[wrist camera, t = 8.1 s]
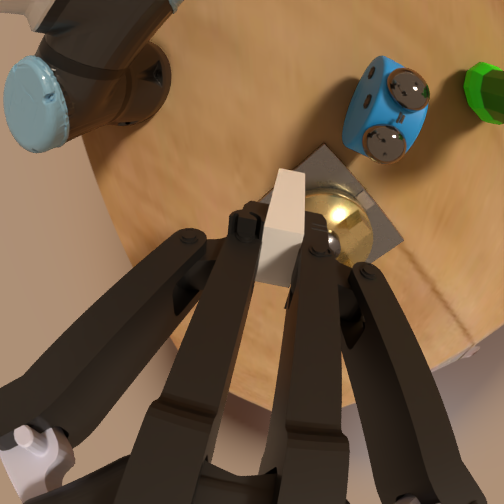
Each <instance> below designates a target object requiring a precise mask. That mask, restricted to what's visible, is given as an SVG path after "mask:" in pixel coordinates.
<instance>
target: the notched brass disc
mask: <svg viewBox="0 0 504 504" xmlns="http://www.w3.org/2000/svg"><path fill="white" fill-rule="evenodd" d="M305 211H309V212H314V213H319V214H322V215H323V216H324V218H325V219H326V220H327V229H328V239H329V247H330V248H331V249H332V250H333V252H334V254H335V259H336V260H337V261H339V262H340V263H342V264H344V265H346V266H349V267H351V268H352V267H353V265H354V264H355V263H357V262H365V261H366V259H367V257H368V256H369V254H370V252H371V249H372V245H373V230H372V227H371V224H370V221H369V218H368V215H367V213H366V211H365V209H364V208H363V206H362V205H361V204H360V203H359V202H358V201H357V200H356V199H355V198H354V197H352V196H351V195H349V194H347V193H345V192H343V191H340V190H336V189H331V188H316V189H311V190H307V191H305Z"/></svg>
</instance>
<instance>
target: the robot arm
mask: <svg viewBox="0 0 504 504" xmlns="http://www.w3.org/2000/svg"><path fill="white" fill-rule="evenodd" d="M183 1H184V0H0V12H1V13H11V14H21V15H24V16H26V18H27V20H28V23H29V25H30V28H31V31H33V32H38V33H44V34H45V35H44V37H43V39H42V41H41V43H40V45H39V47H38V50H37V52H36V54H35V55H34V56H26V57H25V58H23V59H22V60H20V61H19V62H18V63H17V64H15V65H14V66H13V68H12V69H11V71H10V72H9V75H8V77H7V80H6V83H5V88H4V112H5V116H6V121H7V124H8V126H9V129H10V131H11V133H12V135H13V137H14V138H15V140H16V141H17V142H18V143H19V145H20V146H22V147H23V148H24V149H26V150H27V151H30V152H33V153H42V152H46V151H48V150H50V149H53V148H56V147H61V146H62V145H63V144H65V143H66V142H68V141H70V140H72V139H74V138H76V137H78V136H80V135H82V134H85V133H87V132H89V131H91V130H94V129H96V128H98V127H101V126H103V125H105V124H110V125H119V126H128V125H133V124H136V123H139V122H141V121H144V120H146V119H148V118H150V117H151V116H152V115H154V114H155V113H156V112H157V111H158V110H159V109H160V108H161V106H162V105H163V103H164V102H165V100H166V98H167V95H168V93H169V90H170V85H171V68H170V64H169V61H168V59H167V57H166V55H165V53H164V52H163V51H162V50H161V49H160V48H159V47H158V46H157V45H155V44H154V43H152V42H149V40H150V39H151V37H152V36H153V35H154V34H155V33H156V31H157V30H158V29H159V28H160V27H161V26H162V24H163V23H164V22H165V21H166V20H167V19H168V18H169V17H170V16H171V14H172V13H173V14H174V13H175V12H176V11H177V7H178V6H179V5H180V4H181V3H182V2H183ZM255 281H258V282H262V283H267V284H272V285H277V286H282V287H288V288H289V287H290V284H291V287H290V291H289V294H288V297H287V301H286V304H285V307H284V309H286V316H285V324H284V332H283V339H282V347H281V354H280V361H279V368H278V375H277V382H276V389H275V395H274V401H273V408H272V414H271V420H270V426H269V432H268V437H267V443H266V448H265V452H264V455H263V457H262V461H261V465H260V469H259V474H258V475H255V476H237V475H234V474H232V473H230V472H228V471H225V470H223V469H221V468H219V467H217V466H215V465H213V464H211V460H212V457H213V452H214V448H215V443H216V438H217V434H218V430H219V426H220V422H221V418H222V415H223V411H224V407H225V403H226V399H227V395H228V391H229V387H230V383H231V379H232V375H233V371H234V367H235V363H236V359H237V355H238V351H239V347H240V343H241V338H242V334H243V330H244V326H245V322H246V318H247V314H248V310H249V306H250V301H251V297H252V293H253V289H254V283H255ZM198 300H199V302H198ZM197 302H198V304H197V307H196V309H195V311H194V314H193V316H192V319H191V321H190V323H189V326H188V328H187V331H186V333H185V336H184V338H183V341H182V343H181V346H180V348H179V351H178V353H177V355H176V358H175V361H174V363H173V366H172V368H171V371H170V373H169V376H168V378H167V381H166V384H165V386H164V389H163V391H162V393H161V396H160V397H159V398H158V399H157V400H155V401H153V402H152V404H151V405H150V406H149V408H148V410H147V412H146V415H145V417H144V420H143V422H142V425H141V428H140V430H139V433H138V436H137V439H136V441H135V444H134V446H133V449H132V452H131V454H130V455H127V456H124V457H122V458H120V459H118V460H116V461H114V462H112V463H110V464H108V465H106V466H104V467H102V468H100V469H98V470H96V471H94V472H92V473H90V474H88V475H86V476H84V477H82V478H79V479H77V480H75V481H73V482H71V483H68V484H66V485H64V486H62V479H63V477H64V475H65V474H66V472H67V471H68V470H69V469H70V468H71V467H73V466H74V464H75V457H74V453H73V448H74V447H76V446H77V445H79V444H80V443H81V442H83V441H84V440H85V439H86V438H87V437H88V436H89V435H90V434H91V433H92V432H93V431H94V430H95V429H96V427H97V426H98V425H99V424H100V423H101V421H102V420H103V419H104V418H105V416H106V415H107V414H108V412H109V411H110V410H111V409H112V407H113V406H114V405H115V404H116V402H117V401H118V400H119V398H120V397H121V396H122V395H123V394H124V392H125V391H126V390H127V388H128V387H129V386H130V385H131V383H132V382H133V381H134V380H135V378H136V377H137V376H138V374H139V373H140V372H141V371H142V370H143V368H144V367H145V366H146V365H147V363H148V362H149V361H150V360H151V358H152V357H153V356H154V355H155V353H156V352H157V351H158V350H159V349H160V347H161V346H162V345H163V344H164V342H165V341H166V340H167V339H168V337H169V336H170V335H171V334H172V332H173V331H174V330H175V329H176V327H177V326H178V325H179V324H180V323H181V321H182V320H183V319H184V318H185V316H186V315H187V314H188V313H189V312H190V310H191V309H192V308H193V307H194V305H195V304H196V303H197ZM341 351H342V354H343V358H344V361H345V365H346V368H347V371H348V375H349V379H350V382H351V386H352V389H353V393H354V397H355V401H356V404H357V408H358V412H359V416H360V420H361V424H362V428H363V432H364V436H365V441H366V445H367V449H368V454H369V458H370V463H371V467H372V472H373V477H374V481H375V485H376V489H377V492H378V494H379V497H380V500H381V502H382V504H487V501H486V498H485V496H484V494H483V493H482V491H481V490H480V488H479V486H478V485H477V483H476V482H475V480H474V479H473V477H472V475H471V474H470V472H469V471H468V469H467V468H466V466H465V465H464V463H463V462H462V460H461V457H460V453H459V450H458V446H457V443H456V440H455V436H454V433H453V430H452V427H451V424H450V421H449V418H448V415H447V412H446V409H445V407H444V404H443V401H442V399H441V396H440V393H439V391H438V388H437V386H436V383H435V381H434V378H433V376H432V373H431V371H430V368H429V366H428V364H427V361H426V359H425V357H424V355H423V352H422V350H421V348H420V346H419V344H418V341H417V339H416V337H415V335H414V333H413V331H412V329H411V327H410V325H409V323H408V321H407V319H406V317H405V315H404V313H403V311H402V309H401V307H400V305H399V303H398V301H397V299H396V297H395V295H394V293H393V291H392V290H391V288H390V286H389V284H388V282H387V280H386V279H385V277H384V275H383V273H382V272H381V271H380V269H378V268H377V267H376V266H374V265H373V264H371V263H367V262H357V263H355V264H354V265H353V267H352V268H351V267H349V266H346V265H344V264H342V263H340V262H339V261H337V260H336V259H335V254H334V252H333V250H332V249H331V248H330V247H329V239H328V229H327V220H326V219H325V218H324V216H323V215H322V214H319V213H314V212H309V211H305V173H301V172H296V171H291V170H286V169H281V168H279V171H278V175H277V179H276V182H275V186H274V190H273V194H272V198H271V201H270V204H266V203H260V202H255V201H250V202H248V203H246V204H245V205H244V207H243V209H242V210H237V211H234V212H232V213H231V214H230V215H229V226H228V235H227V237H225V238H221V239H207V237H206V235H205V233H204V232H202V231H200V230H198V229H194V228H185V229H181V230H179V231H177V232H175V233H174V234H173V235H171V236H170V237H169V238H168V239H167V240H165V241H164V242H163V243H162V244H161V245H159V246H158V247H157V248H156V249H155V250H153V251H152V252H151V253H150V254H149V255H148V256H146V257H145V258H144V259H143V260H142V261H141V262H139V263H138V264H137V265H136V266H135V267H134V268H133V269H131V270H130V271H129V272H128V273H127V274H126V275H125V276H123V277H122V278H121V279H120V280H119V281H118V282H117V283H116V284H115V285H114V286H112V287H111V288H110V289H109V290H108V291H107V292H106V293H105V294H104V295H102V296H101V297H100V298H99V299H98V300H97V301H96V302H95V303H94V304H93V305H92V306H91V307H90V308H89V309H88V310H86V311H85V313H83V314H82V315H81V316H80V317H79V318H78V319H77V320H76V321H75V322H74V323H73V324H72V325H71V326H70V327H69V328H68V329H67V330H66V331H65V332H64V333H63V334H62V335H61V336H60V337H59V338H58V339H57V340H56V341H55V342H54V343H53V344H52V345H51V346H50V347H49V348H48V349H47V350H46V351H45V352H44V353H43V354H42V355H41V357H40V358H39V359H38V360H37V361H36V362H35V363H34V364H33V365H32V366H31V367H30V369H28V371H27V372H26V373H25V374H24V375H23V376H21V377H19V378H18V379H16V380H14V381H12V382H10V383H9V384H7V385H5V386H3V387H1V388H0V457H1V460H2V462H3V465H4V467H5V469H6V471H7V473H8V476H9V478H10V480H11V482H12V484H13V486H14V488H15V490H16V492H17V494H18V496H19V497H20V499H21V501H22V503H23V504H350V503H349V502H348V501H347V499H346V494H347V483H348V468H349V453H350V450H349V441H348V438H347V437H346V436H345V435H344V434H343V433H342V430H341V407H342V363H341Z"/></svg>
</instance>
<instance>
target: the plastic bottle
mask: <svg viewBox="0 0 504 504" xmlns="http://www.w3.org/2000/svg"><path fill="white" fill-rule="evenodd" d="M463 88H464V91H465V95H466V99H467V103H468V105H469V106H470V107H471V108H472V110H473V111H474V112H475V113H476V114H477V115H478V117H479V118H480V119H481V120H482V121H485V122H488V123H493V124H498V125H500V124H503V123H504V71H502V70H501V69H500V68H499V67H496V66H493V65H490V64H487V63H484V62H479V63H478V64H476V65H475V66H473V67H472V68H470V69H469V70H468V71H467V72H466V77H465V81H464V86H463Z"/></svg>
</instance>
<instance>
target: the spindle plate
mask: <svg viewBox="0 0 504 504" xmlns="http://www.w3.org/2000/svg"><path fill="white" fill-rule="evenodd" d="M292 171H296V172H301V173H305V191H307V190H311V189H316V188H331V189H336V190H340V191H343V192H345V193H347V194H349V195H351V196H352V197H354V198H355V199H356V200H357V201H358V202H359V203H360V204H361V205H362V206H363V208H364V209H365V211H366V213H367V215H368V218H369V221H370V224H371V227H372V230H373V245H372V249H371V252H370V254H369V256H368V257H367V259H366V261H365V262H367V263H372V262H373V261H375V260H376V259H378V258H379V257H381V256H382V255H384V254H385V253H387V252H388V251H390V250H391V249H392V248H394V247H395V246H397V245H398V244H400V243H401V242H403V241H404V239H403V237H402V236H401V234H400V233H399V232H398V230H397V229H396V228H395V226H394V225H393V224H392V222H391V221H390V220H389V218H388V217H387V216H386V214H385V213H384V212H383V210H382V209H381V208H380V207H379V205H378V204H377V203H376V202H375V200H374V199H373V198H372V197H371V195H370V194H369V193H368V192H367V191H366V189H365V188H364V187H363V186H362V185H361V183H360V182H359V181H358V180H357V179H356V177H355V176H354V175H353V174H352V173H351V172H350V171H349V169H348V168H347V167H346V166H345V165H344V164H343V163H342V162H341V161H340V159H339V158H338V157H337V156H336V155H335V154H334V153H333V152H332V151H331V150H330V149H329V148H328V146H327V145H326V144H325V143H323V144H322V145H321V146H319V147H318V148H317V149H316V150H315V151H314V152H313V153H311V154H310V155H309V156H308V157H307V158H306V159H305V160H303V161H302V162H301V163H300V164H299V165H298V166H297V167H296V168H294V169H293V170H292ZM273 190H274V187H273V188H272V189H271V190H270V191H269V192H268V193H267V194H266V195H264V196H263V197H262V198H261V199H260V200H259V201H258V202H260V203H266V204H270V201H271V198H272V194H273Z"/></svg>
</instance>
